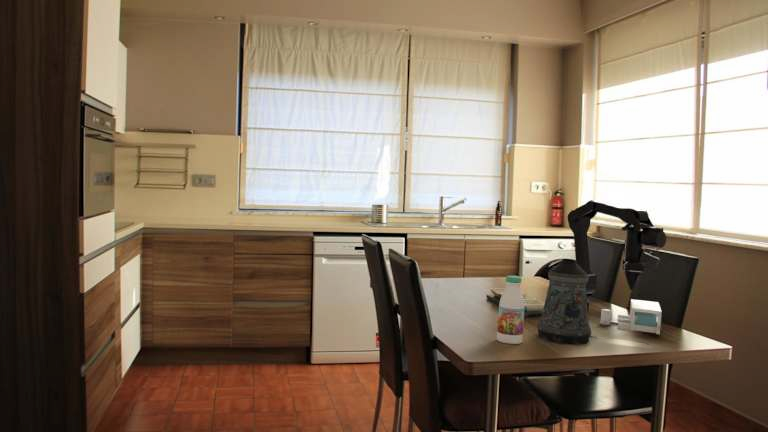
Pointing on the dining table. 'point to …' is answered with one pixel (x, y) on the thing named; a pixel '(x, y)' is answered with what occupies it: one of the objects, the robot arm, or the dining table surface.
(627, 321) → the shelf
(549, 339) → the beer stein
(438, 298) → the dining table surface
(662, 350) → the dining table surface
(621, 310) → the dining table surface
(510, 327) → the milk bottle
